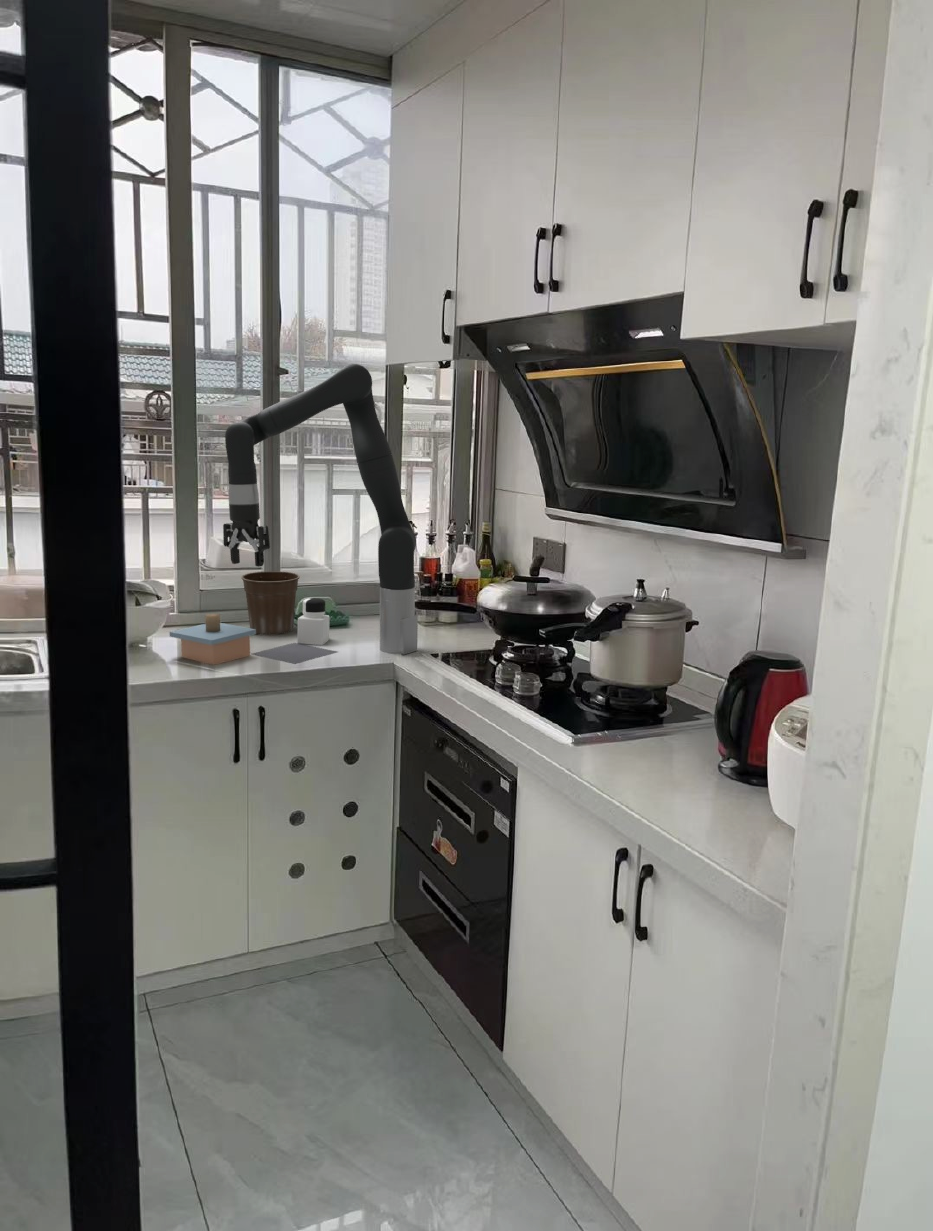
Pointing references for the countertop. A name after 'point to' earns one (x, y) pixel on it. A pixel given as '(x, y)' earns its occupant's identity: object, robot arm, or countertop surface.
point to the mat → (294, 653)
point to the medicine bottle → (313, 623)
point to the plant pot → (271, 601)
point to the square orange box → (216, 650)
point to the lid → (212, 631)
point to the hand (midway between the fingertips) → (247, 564)
